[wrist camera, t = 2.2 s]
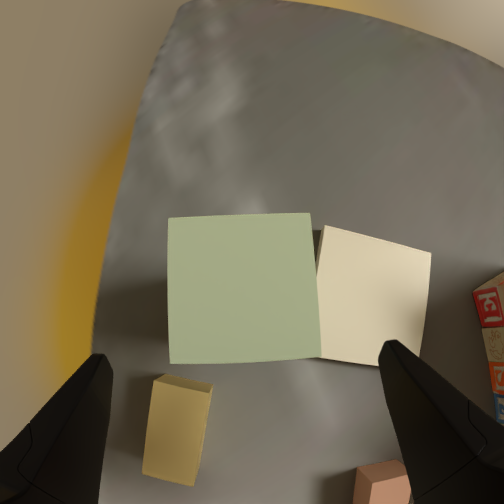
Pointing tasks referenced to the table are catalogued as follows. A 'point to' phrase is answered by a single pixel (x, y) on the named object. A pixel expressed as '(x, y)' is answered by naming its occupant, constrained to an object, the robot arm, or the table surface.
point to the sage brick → (242, 289)
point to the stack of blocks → (493, 335)
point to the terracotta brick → (382, 484)
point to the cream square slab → (369, 295)
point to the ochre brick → (176, 429)
